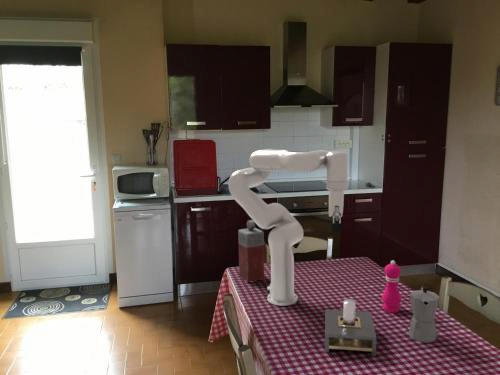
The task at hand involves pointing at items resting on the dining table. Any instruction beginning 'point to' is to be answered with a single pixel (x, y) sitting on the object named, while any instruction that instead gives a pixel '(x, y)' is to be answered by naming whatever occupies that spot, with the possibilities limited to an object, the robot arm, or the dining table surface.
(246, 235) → the brown lidded canister
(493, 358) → the dining table surface
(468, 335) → the dining table surface
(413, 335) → the coffeepot
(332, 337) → the grey square socket block
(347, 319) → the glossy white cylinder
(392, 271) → the pepper mill
